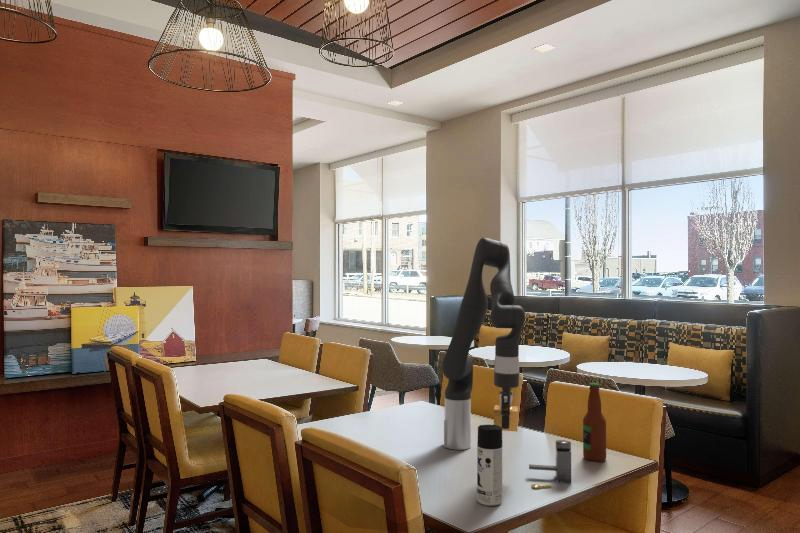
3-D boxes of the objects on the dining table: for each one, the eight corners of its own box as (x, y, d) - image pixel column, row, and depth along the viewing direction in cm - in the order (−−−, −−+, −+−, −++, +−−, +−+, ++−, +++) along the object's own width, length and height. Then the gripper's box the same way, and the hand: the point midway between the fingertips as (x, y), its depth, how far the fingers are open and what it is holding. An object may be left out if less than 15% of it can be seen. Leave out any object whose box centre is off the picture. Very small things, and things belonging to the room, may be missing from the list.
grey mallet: (529, 480, 171) (529, 442, 172) (528, 473, 177) (528, 437, 178) (572, 482, 169) (571, 445, 169) (569, 476, 175) (569, 439, 175)
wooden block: (493, 429, 173) (493, 409, 173) (494, 424, 179) (494, 405, 180) (517, 431, 172) (517, 411, 172) (517, 426, 178) (517, 406, 178)
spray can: (474, 497, 158) (474, 424, 158) (499, 496, 158) (498, 423, 159) (480, 507, 151) (480, 430, 152) (505, 506, 152) (505, 430, 152)
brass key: (533, 489, 164) (533, 487, 164) (530, 486, 166) (530, 484, 166) (552, 488, 165) (552, 486, 165) (549, 485, 167) (549, 483, 167)
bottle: (589, 454, 197) (589, 380, 197) (610, 458, 192) (609, 383, 192) (579, 458, 192) (578, 383, 192) (599, 463, 187) (599, 386, 187)
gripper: (519, 375, 168) (518, 432, 168) (519, 367, 182) (518, 420, 182) (493, 374, 170) (492, 430, 169) (495, 366, 184) (494, 418, 183)
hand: (505, 425), depth 176 cm, fingers closed on wooden block, 6 cm apart
